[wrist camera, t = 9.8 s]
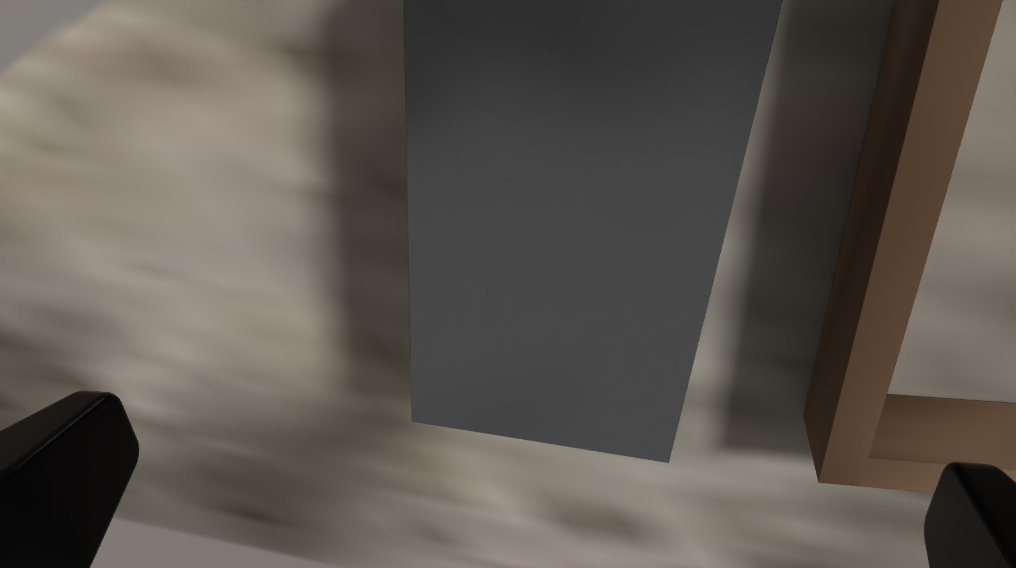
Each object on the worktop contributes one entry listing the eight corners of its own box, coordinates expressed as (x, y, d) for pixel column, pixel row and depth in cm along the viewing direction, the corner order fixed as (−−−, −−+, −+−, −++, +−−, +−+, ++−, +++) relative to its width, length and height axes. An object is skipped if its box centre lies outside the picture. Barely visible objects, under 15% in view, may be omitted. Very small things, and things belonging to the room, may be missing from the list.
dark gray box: (763, -88, 12) (793, -45, 10) (667, 349, 17) (668, 462, 15) (459, -113, 13) (401, -81, 10) (451, 317, 18) (411, 421, 15)
